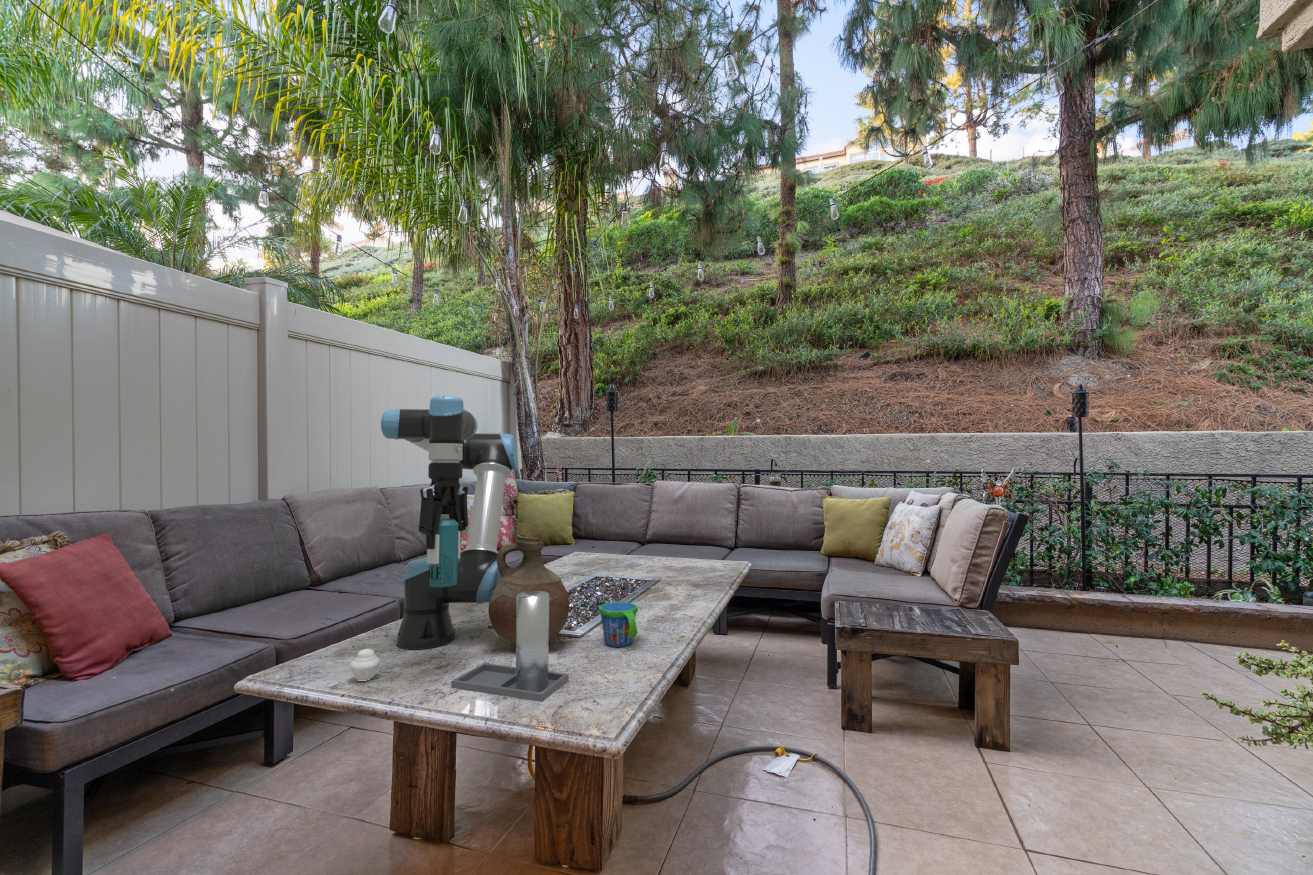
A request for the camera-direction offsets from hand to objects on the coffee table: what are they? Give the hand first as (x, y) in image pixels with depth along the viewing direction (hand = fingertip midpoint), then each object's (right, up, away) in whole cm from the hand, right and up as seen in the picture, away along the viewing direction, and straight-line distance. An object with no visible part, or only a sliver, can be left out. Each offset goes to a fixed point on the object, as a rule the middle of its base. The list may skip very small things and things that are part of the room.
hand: (444, 560), depth 131 cm
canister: (+22, -26, -8) cm, 35 cm away
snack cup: (+39, -28, +24) cm, 54 cm away
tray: (+17, -27, -7) cm, 33 cm away
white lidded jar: (-18, -27, -1) cm, 33 cm away
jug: (+15, -28, +22) cm, 39 cm away
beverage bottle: (0, -7, 0) cm, 7 cm away
